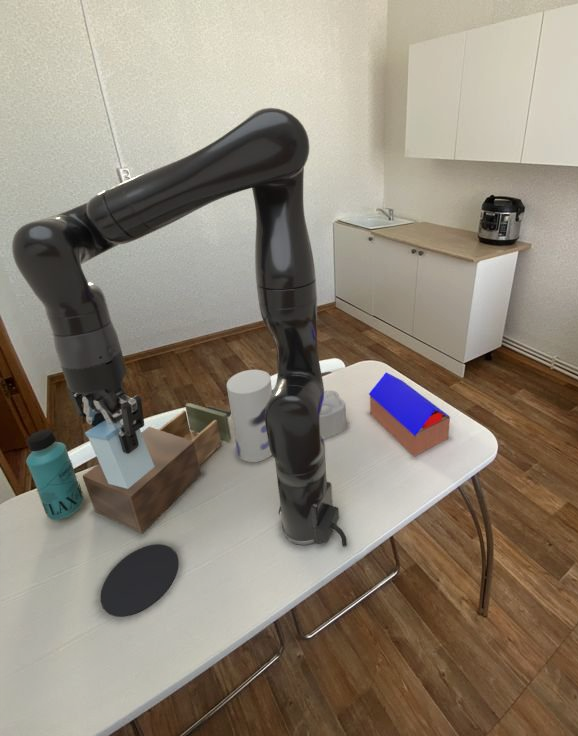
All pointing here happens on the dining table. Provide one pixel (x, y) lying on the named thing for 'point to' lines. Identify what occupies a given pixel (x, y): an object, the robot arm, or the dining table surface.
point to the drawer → (201, 428)
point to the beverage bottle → (53, 475)
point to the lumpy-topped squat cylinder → (332, 415)
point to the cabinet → (147, 482)
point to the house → (408, 415)
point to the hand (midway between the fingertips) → (117, 444)
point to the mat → (139, 580)
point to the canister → (119, 455)
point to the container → (250, 413)
